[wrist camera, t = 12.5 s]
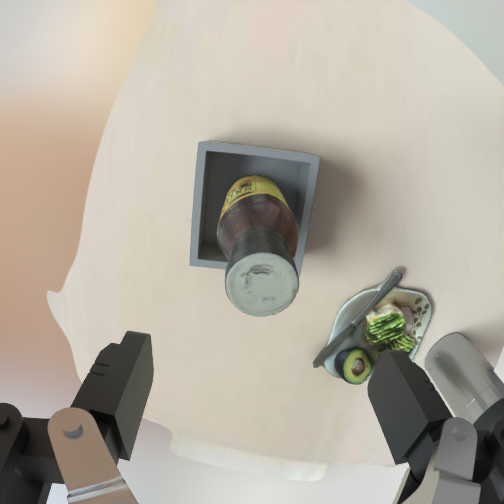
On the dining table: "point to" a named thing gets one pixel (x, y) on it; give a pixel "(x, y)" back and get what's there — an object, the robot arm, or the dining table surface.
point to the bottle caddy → (231, 170)
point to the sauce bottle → (258, 247)
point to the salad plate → (373, 330)
